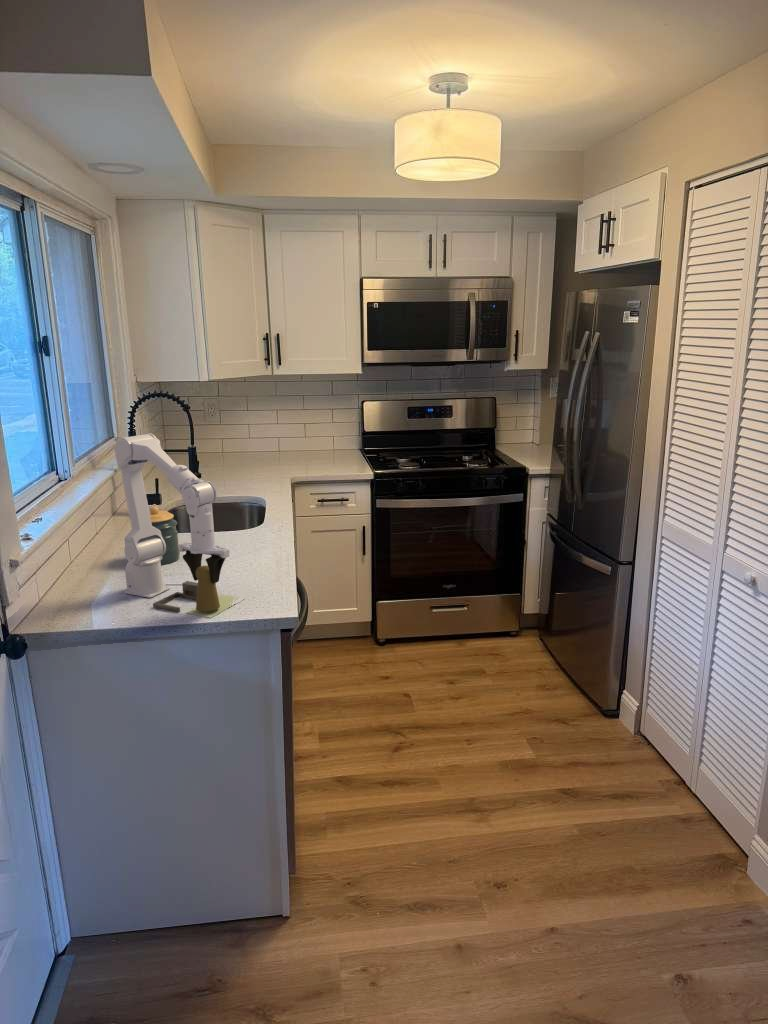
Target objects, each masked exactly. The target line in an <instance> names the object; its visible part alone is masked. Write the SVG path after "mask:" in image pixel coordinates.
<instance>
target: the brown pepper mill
mask: <svg viewBox="0 0 768 1024" xmlns="http://www.w3.org/2000/svg"><path fill="white" fill-rule="evenodd" d="M195 575H196V578H197V579H198V580H197V583H198V588H197V601H195V602H196V603H195V604H196V606H195V608H196V609H197V610H198V611H212V610H216V609H218V608H219V607H220V604H219V599H218V596H219V594H218V590H217V584H215V583H214V584H213V583H211V578H210V571H209V567H208V564H207V565H201V566H200V567H198V568H197V569H196V572H195Z"/></svg>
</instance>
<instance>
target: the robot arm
mask: <svg viewBox="0 0 768 1024" xmlns="http://www.w3.org/2000/svg"><path fill="white" fill-rule="evenodd" d="M113 450H114V454H115V460H116V463H117V468H119V470H120V476H121V479H122V480H121V481H122V485H123V491H124V495H125V496H124V497H125V500H126V505H127V511H128V516H129V521H130V525H131V529H130V530H129V532H128V533H127V534H126V535H125V536H124V538H123V540H124V550H123V551H124V552H123V553H124V556H125V558H126V560H127V563H126V565H125V569H124V573H125V582H126V583H125V584H126V590H125V591H124V594H129V595H133V596H138V597H144V598H149V599H150V598H151V599H152V598H153V597H155V596H157V595H158V596H159V594H162V593H164V592H167V591H168V590H170V589H171V587H170V586H166V585H163V584H164V582H163V573H162V565H161V562H160V560H161V559H163V558H162V556H163V555H164V554H165V551H166V544H165V541H164V540H163V538H162V535H161V531H160V530H159V529H157V528H155V527H153V526H152V523H151V518H150V512H149V511H150V509H149V503H148V498H147V492H146V487H145V483H144V477H143V471H142V470H143V468H144V467H145V466H146V464H147V463H149V462H150V463H151V464H153V465H154V466H155V467H156V468H157V469H159V470H160V471H162V472H163V473H164V474H165V475H166V481H167V482H168V483H169V485H171V486H172V487H173V489H175V490H176V491H177V492H179V494H180V495H181V499H182V501H183V504H184V505H185V509H186V512H187V514H188V516H189V517H188V518H189V529H190V539H191V540H190V541H191V542H182V543H178V544H179V551H180V553H183V552H185V554H182V559H183V560H184V562H186V565H187V566H188V568H189V570H190V572H191V575H192V579H193V580H194V581H198V579H197V578H196V575H195V572H196V569H197V568H198V567H200V566H202V561H203V559H202V558H203V555H206V556H210V557H207V558H205V561H206V564H207V565H208V567H209V571H210V578H211V583H213V584H214V583H218V582H219V581H220V576H221V571H222V568H223V564H224V562H225V561H226V559H227V558H229V557H230V549H229V548H226V547H223V546H220V545H217V544H216V539H215V528H214V514H213V503H214V502H215V501H216V499H217V491H216V488H215V486H214V484H212V482H211V481H208V480H204V479H200V478H198V477H197V475H195V474H194V473H193V472H192V471H191V470H190V469H189V468H188V466H186V465H183V464H177V463H176V462H174V460H172V458H171V456H170V455H168V454H167V453H166V451H164V450H163V449H162V447H161V441H160V439H158V438H157V437H156V436H155V435H154V433H151V432H150V433H149V432H148V433H145V434H141V435H139V434H138V435H134V436H133V435H132V436H122V437H121V436H120V437H118V438H117V440H116V442H115V444H114V446H113ZM149 536H150V537H149ZM146 537H147V538H146ZM142 538H143V539H142Z"/></svg>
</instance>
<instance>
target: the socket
mask: <svg viewBox="0 0 768 1024" xmlns="http://www.w3.org/2000/svg"><path fill="white" fill-rule="evenodd" d="M181 586H182V592H179V591H177V592H176V591H175V592H173V593H172V594H169V595H168V596H166V597H163V598H162V599H159V600H157V601H156V602H152V607H153V609H156V610H157V609H158V610H162V611H166V612H172V613H176V614H178V613H180V612H181V607H178V606H175V605H169V604H168V603H169V602H171V601H173V600H176V599H177V598H179V599H184V600H189V601H195V602H197V588H198V582H194V581H188V580H186V581H184V582H182V584H181ZM189 591H190V592H194V594H195V595H191V594H187V592H189Z"/></svg>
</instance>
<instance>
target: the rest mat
mask: <svg viewBox="0 0 768 1024" xmlns="http://www.w3.org/2000/svg"><path fill="white" fill-rule="evenodd" d="M234 597H235V598H236V597H237V598H239V597H238V596H233V595H228V594H218V599H219V604H220V607H219V608H218V609H216V610H212V611H198V610H197V609H196V607H194V608H192V609H190V610H189V611H186V614H188V615H194V616H198V617H202V618H208V619H212V618H214V617H216V616H218V615H220V614H221V613H223V612H225V611H226V609H227V610H228V608H229V607H230V608H232V607H233V605H232V603H233V600H234V599H235V598H234ZM233 598H234V599H233ZM235 601H236V600H235ZM235 601H234V602H235ZM230 603H231V604H230ZM231 605H232V607H231ZM230 608H229V609H230Z"/></svg>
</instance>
